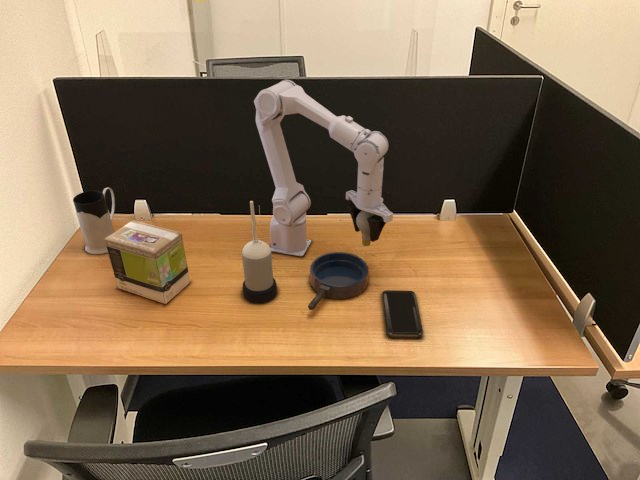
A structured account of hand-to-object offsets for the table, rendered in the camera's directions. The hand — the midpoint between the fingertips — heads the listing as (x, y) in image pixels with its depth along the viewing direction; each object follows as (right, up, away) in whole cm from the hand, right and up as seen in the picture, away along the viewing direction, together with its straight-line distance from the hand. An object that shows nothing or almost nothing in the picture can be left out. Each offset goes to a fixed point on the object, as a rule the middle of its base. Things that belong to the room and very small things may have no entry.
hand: (366, 235), depth 125 cm
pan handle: (-12, -15, -8) cm, 21 cm away
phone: (+7, -18, -9) cm, 22 cm away
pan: (-7, -11, +2) cm, 13 cm away
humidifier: (-26, -14, -2) cm, 30 cm away
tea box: (-52, -13, 0) cm, 54 cm away
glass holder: (-71, -1, +18) cm, 73 cm away
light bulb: (0, -3, +2) cm, 3 cm away
